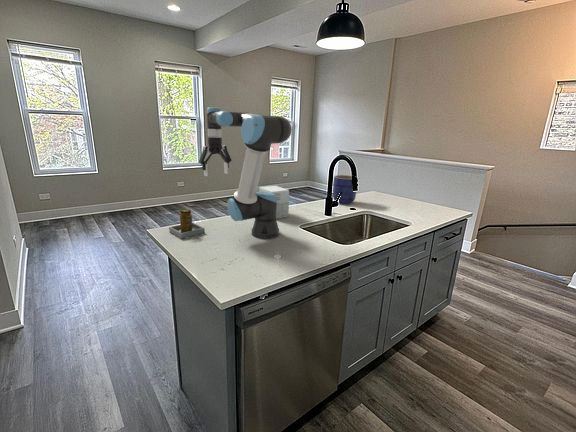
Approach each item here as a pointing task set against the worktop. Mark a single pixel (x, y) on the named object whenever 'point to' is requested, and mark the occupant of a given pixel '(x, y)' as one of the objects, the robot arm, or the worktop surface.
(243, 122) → the robot arm
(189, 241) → the worktop surface
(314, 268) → the worktop surface
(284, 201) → the supplement box
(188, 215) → the condiment
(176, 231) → the bin
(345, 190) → the planter
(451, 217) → the worktop surface
